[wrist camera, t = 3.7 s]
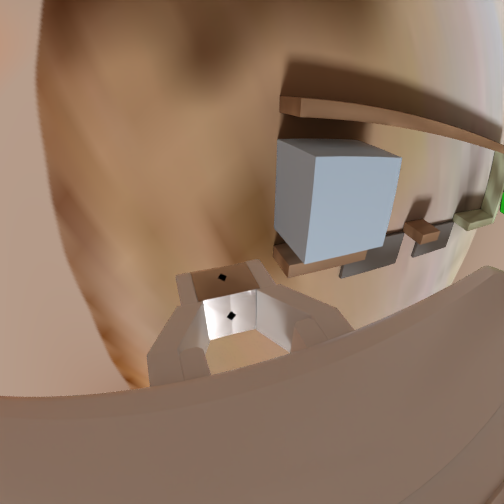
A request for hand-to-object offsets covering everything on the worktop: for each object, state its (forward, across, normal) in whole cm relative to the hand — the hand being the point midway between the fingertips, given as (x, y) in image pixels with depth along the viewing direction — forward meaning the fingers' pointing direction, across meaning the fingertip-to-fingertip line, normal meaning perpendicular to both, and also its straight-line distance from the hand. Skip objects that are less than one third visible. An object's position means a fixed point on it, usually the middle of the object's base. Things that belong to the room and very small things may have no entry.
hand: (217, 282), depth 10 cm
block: (+8, -8, 0) cm, 11 cm away
